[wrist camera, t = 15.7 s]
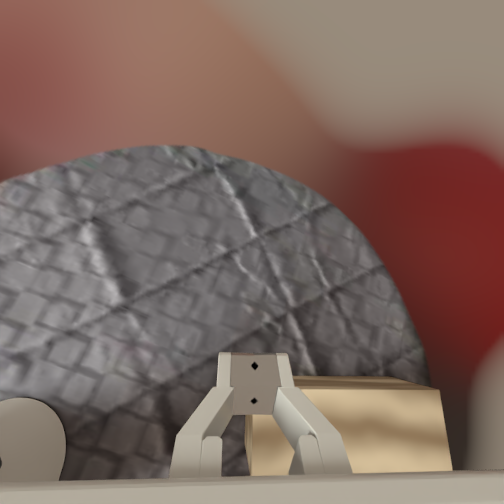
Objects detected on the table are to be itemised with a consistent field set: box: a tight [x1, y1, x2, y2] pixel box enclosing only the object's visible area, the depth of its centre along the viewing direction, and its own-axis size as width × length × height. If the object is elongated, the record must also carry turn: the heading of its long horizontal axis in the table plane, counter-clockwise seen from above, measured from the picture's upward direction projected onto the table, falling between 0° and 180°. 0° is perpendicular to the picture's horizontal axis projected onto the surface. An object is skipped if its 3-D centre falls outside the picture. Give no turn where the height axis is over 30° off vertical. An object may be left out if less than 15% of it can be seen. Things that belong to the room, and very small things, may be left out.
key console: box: [245, 376, 453, 476], centre depth 35 cm, size 9×23×10 cm, turn 89°
